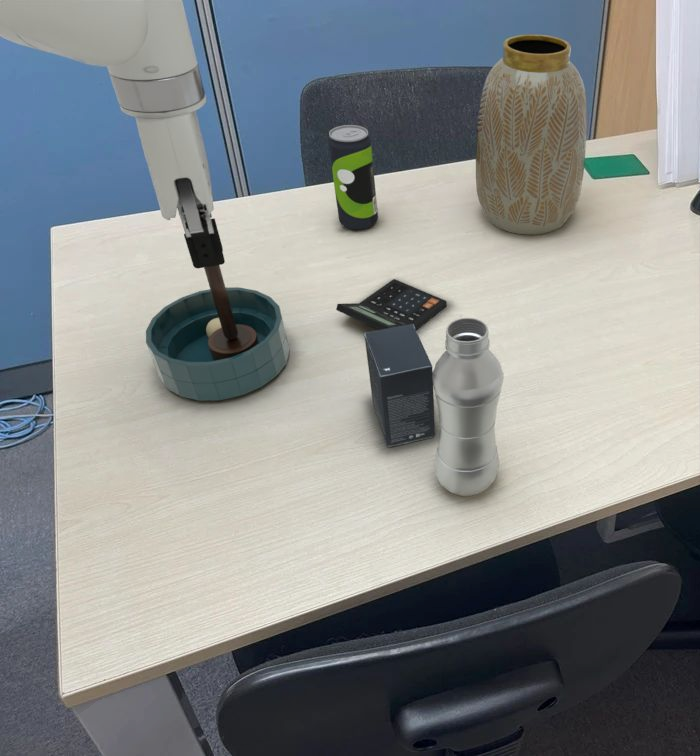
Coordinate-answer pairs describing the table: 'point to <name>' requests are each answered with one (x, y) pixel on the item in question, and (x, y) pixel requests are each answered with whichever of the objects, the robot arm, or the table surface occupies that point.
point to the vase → (531, 136)
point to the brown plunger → (226, 322)
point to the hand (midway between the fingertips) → (208, 258)
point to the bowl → (192, 354)
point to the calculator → (395, 307)
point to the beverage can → (353, 177)
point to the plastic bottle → (467, 408)
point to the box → (401, 384)
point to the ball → (213, 326)
